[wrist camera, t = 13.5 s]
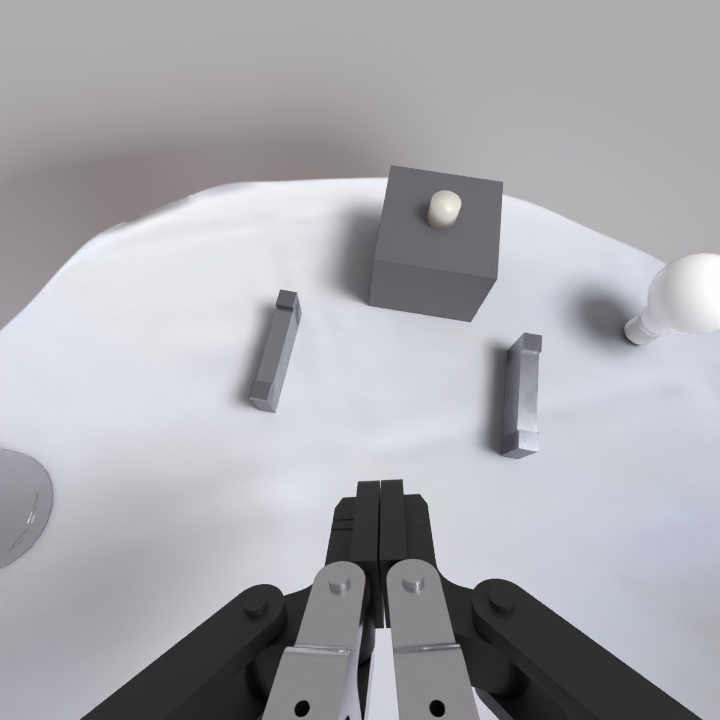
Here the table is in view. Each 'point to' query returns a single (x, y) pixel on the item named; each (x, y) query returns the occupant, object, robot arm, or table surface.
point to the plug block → (436, 243)
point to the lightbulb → (680, 300)
